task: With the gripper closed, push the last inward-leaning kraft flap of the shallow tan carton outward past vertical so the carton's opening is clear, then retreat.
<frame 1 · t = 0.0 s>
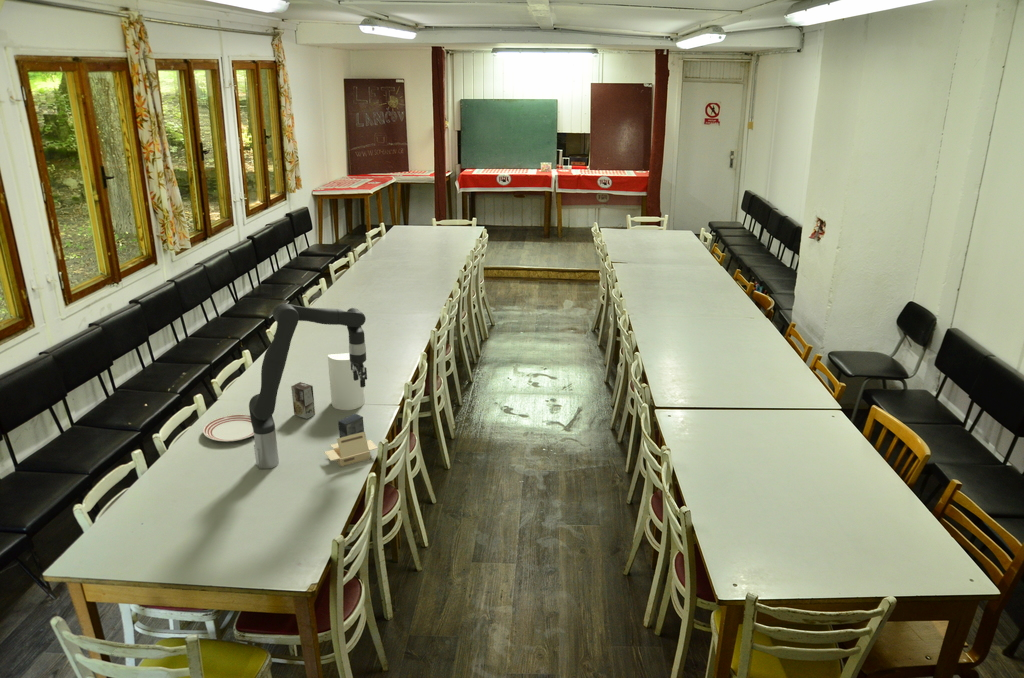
hand: (359, 383, 353), 29 cm above the table, fingers open, 8 cm apart
carton: (351, 458, 347), on the table
front flap: (353, 444, 341), point 8 cm above the table, hinge at -30.0°
coffee box: (304, 415, 386), on the table
dinner plate: (234, 432, 368), on the table
cylinder: (348, 403, 400), on the table
small box: (352, 438, 365), on the table
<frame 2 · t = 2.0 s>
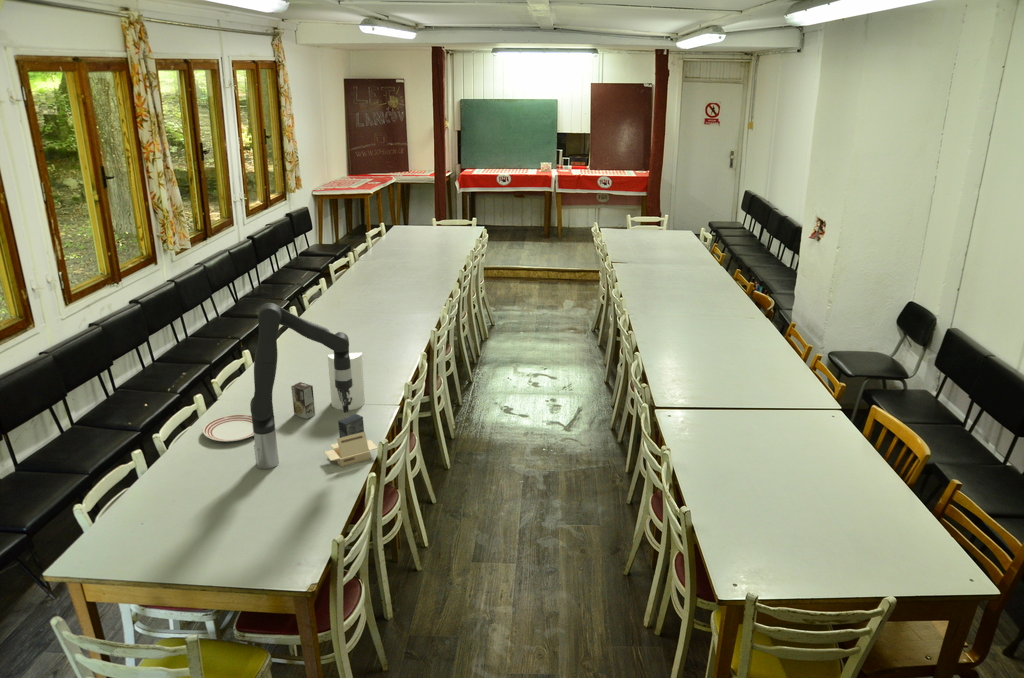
hand: (345, 411, 342), 22 cm above the table, fingers closed
nothing on the table moved.
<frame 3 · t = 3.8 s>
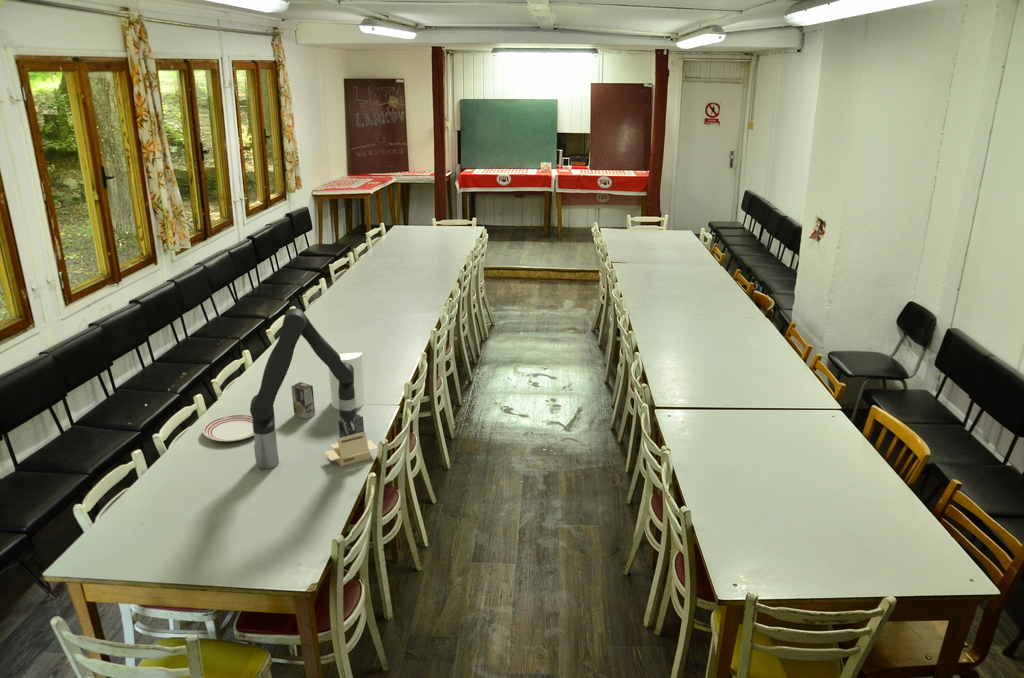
hand: (349, 440, 345), 8 cm above the table, fingers closed
front flap: (353, 444, 341), point 9 cm above the table, hinge at -26.4°, touching gripper
everything else where it was.
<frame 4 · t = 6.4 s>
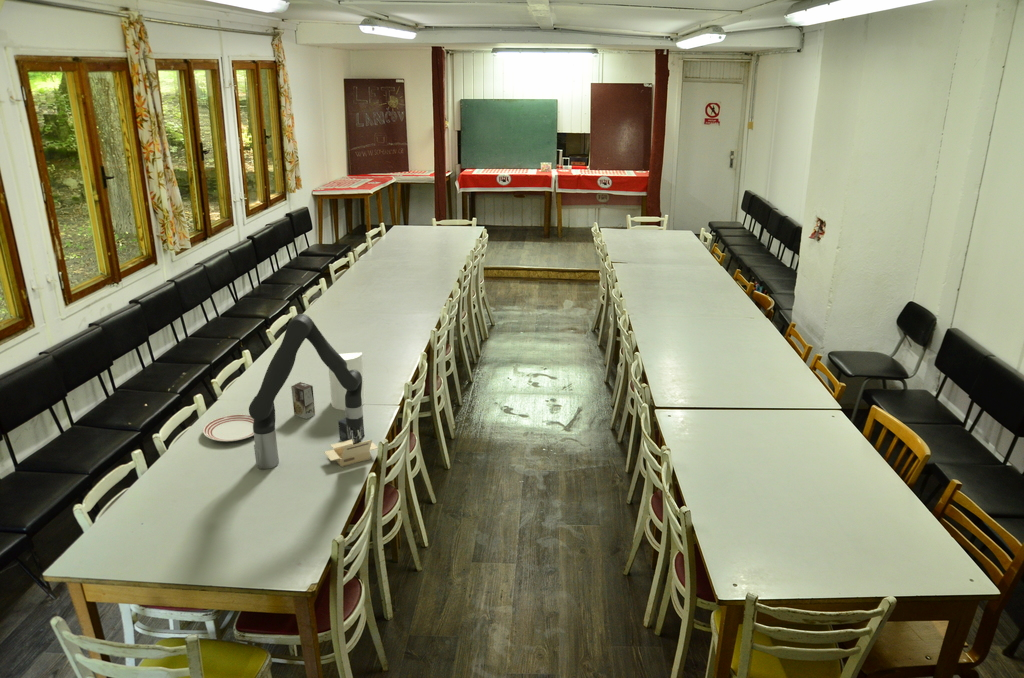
hand: (356, 448, 339), 8 cm above the table, fingers closed
front flap: (356, 449, 338), point 8 cm above the table, hinge at 29.3°, touching gripper
everything else where it was.
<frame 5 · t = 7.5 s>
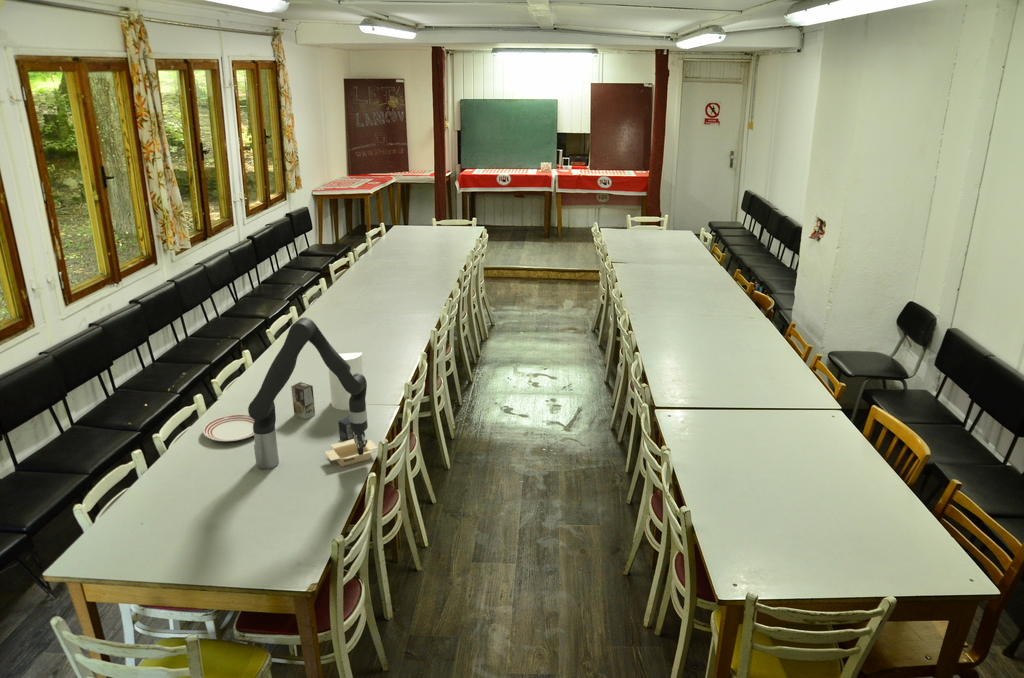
hand: (360, 453, 335), 8 cm above the table, fingers closed
front flap: (358, 455, 337), point 6 cm above the table, hinge at 62.9°, touching gripper
everything else where it was.
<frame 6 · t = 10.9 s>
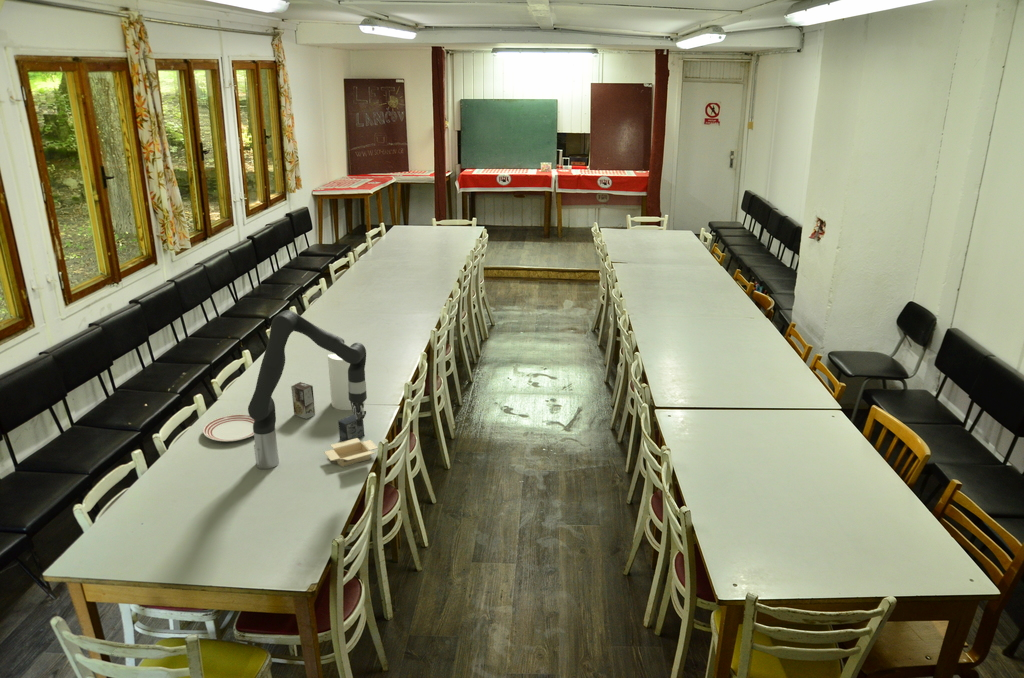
hand: (359, 425, 328), 23 cm above the table, fingers closed
front flap: (358, 455, 337), point 6 cm above the table, hinge at 67.1°
everything else where it was.
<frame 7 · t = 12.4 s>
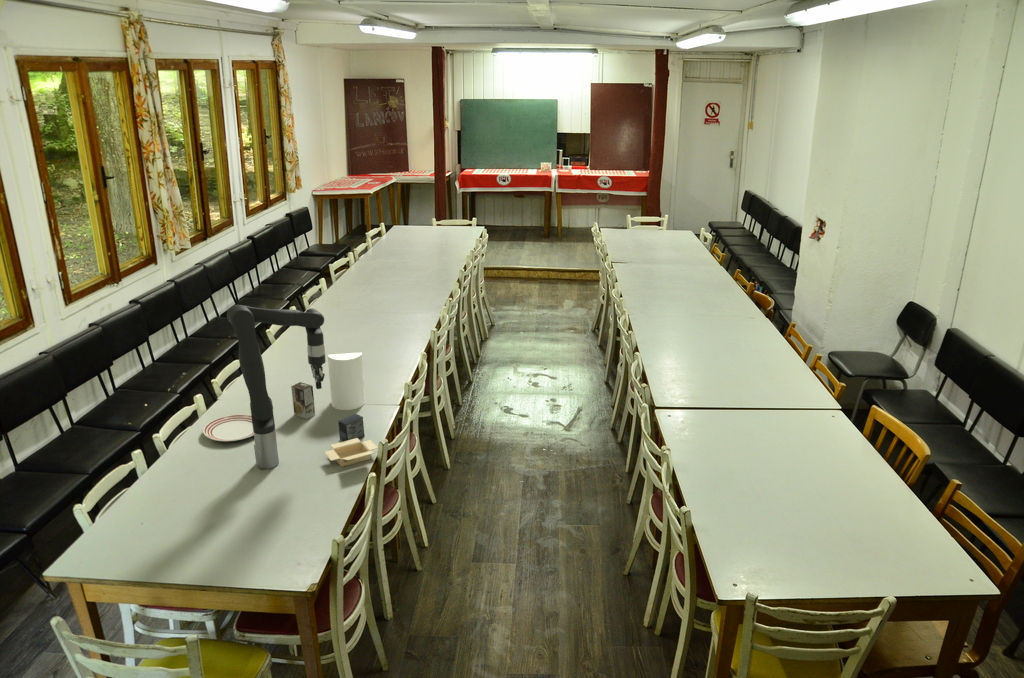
hand: (318, 388, 344), 31 cm above the table, fingers closed
nothing on the table moved.
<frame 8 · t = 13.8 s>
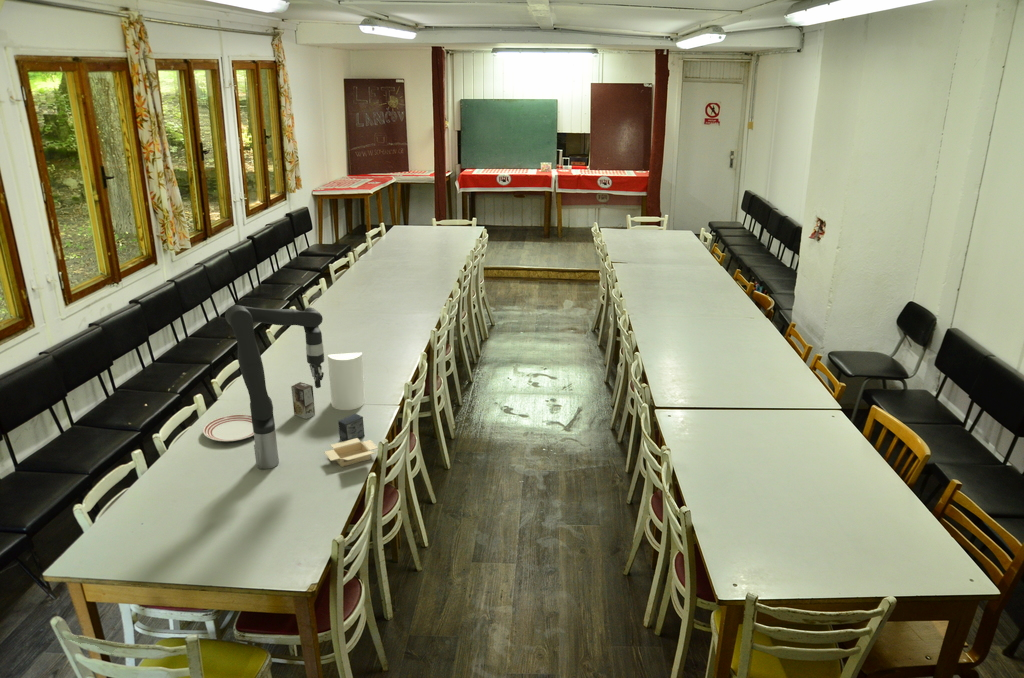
hand: (318, 387, 344), 31 cm above the table, fingers closed
nothing on the table moved.
at the end: front flap at +67° (first picture: -30°) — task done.
